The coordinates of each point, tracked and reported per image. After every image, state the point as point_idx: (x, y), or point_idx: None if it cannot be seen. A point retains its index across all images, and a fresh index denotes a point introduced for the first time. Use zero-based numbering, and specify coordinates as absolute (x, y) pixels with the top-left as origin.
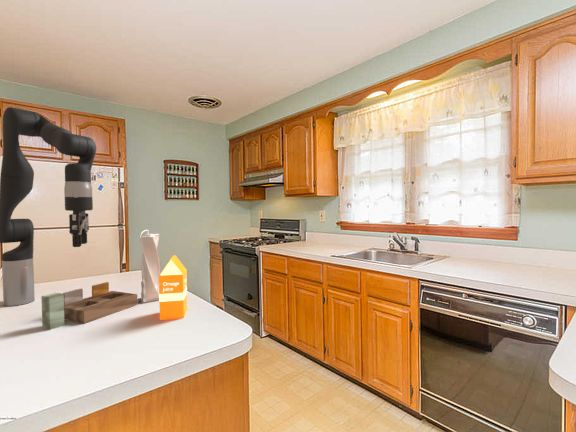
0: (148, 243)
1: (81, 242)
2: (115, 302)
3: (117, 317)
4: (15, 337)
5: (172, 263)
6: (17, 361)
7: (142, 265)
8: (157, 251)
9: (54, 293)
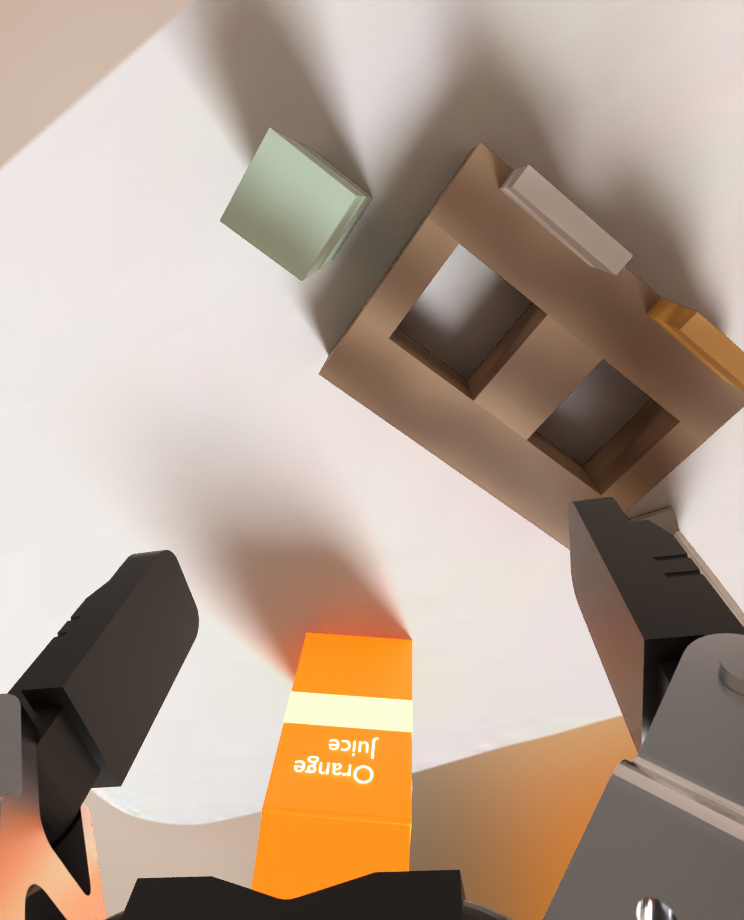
0: None
1: (576, 537)
2: (466, 475)
3: (381, 477)
4: (194, 71)
5: None
6: None
7: None
8: None
9: (324, 202)
